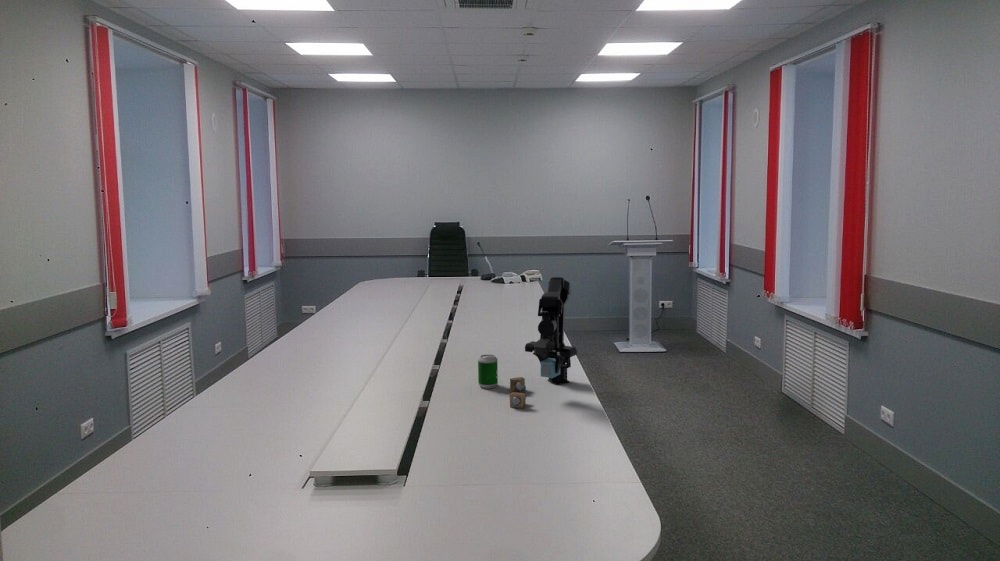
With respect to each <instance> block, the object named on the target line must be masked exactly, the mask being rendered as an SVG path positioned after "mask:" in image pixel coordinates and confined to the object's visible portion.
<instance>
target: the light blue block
mask: <svg viewBox="0 0 1000 561" xmlns="http://www.w3.org/2000/svg"><path fill="white" fill-rule="evenodd" d="M555 364H556V360H555V359H553V358H547V359H545V360H543V361H541V364H540V377H543V378H548V379H549V378H554V377H556V376H558V375H560V369H559V372H558V373H557V374H556V372H555Z"/></svg>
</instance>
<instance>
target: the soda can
mask: <svg viewBox="0 0 1000 561" xmlns="http://www.w3.org/2000/svg"><path fill="white" fill-rule="evenodd" d="M477 367H478V369H477V372H478V374H477V375H478V376H477V378H478V379H477V380H478V385H479V386H480V388H482V389H494V388H496V387H497V385H498V383H499V380H498V379H499V378H498V377H499V376H498V375H499V374H498V371H499V370H498V358H497V356H496V355H494V354H482V355H480V356H479V357H478V359H477Z"/></svg>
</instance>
